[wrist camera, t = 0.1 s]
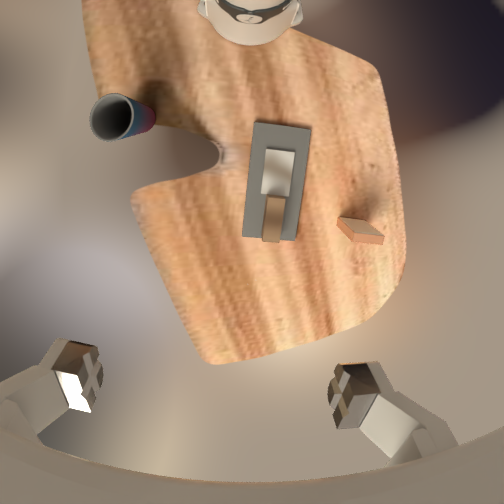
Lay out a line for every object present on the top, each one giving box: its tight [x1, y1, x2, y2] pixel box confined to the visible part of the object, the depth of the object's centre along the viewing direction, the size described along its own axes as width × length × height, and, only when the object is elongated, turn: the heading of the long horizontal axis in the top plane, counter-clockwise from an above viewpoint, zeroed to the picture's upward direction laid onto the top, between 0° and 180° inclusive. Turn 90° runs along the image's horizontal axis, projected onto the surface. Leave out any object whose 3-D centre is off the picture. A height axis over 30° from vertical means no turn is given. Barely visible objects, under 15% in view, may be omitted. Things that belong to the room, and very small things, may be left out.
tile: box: [337, 217, 385, 245], centre depth 54 cm, size 2×6×9 cm, turn 84°
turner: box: [261, 149, 295, 243], centre depth 53 cm, size 16×5×3 cm, turn 174°
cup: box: [89, 93, 155, 142], centre depth 42 cm, size 7×7×15 cm
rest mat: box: [242, 122, 311, 241], centre depth 55 cm, size 21×10×1 cm, turn 174°
